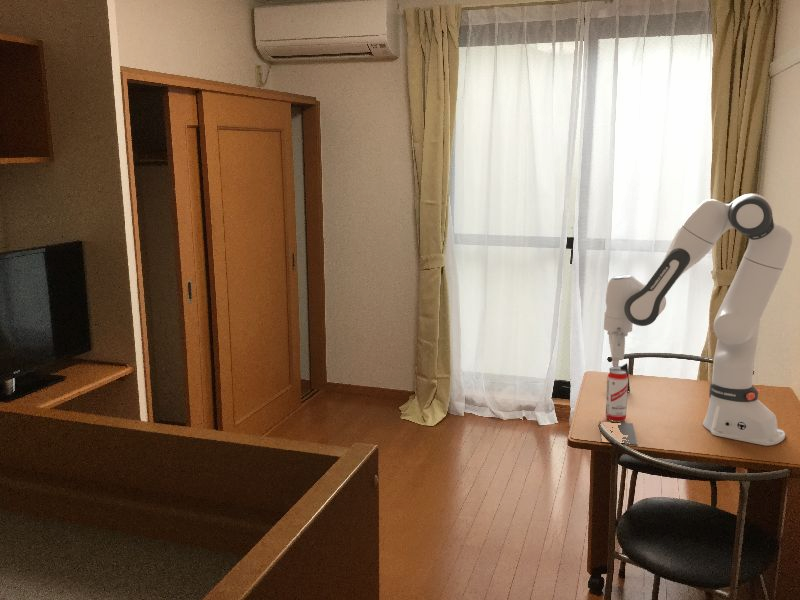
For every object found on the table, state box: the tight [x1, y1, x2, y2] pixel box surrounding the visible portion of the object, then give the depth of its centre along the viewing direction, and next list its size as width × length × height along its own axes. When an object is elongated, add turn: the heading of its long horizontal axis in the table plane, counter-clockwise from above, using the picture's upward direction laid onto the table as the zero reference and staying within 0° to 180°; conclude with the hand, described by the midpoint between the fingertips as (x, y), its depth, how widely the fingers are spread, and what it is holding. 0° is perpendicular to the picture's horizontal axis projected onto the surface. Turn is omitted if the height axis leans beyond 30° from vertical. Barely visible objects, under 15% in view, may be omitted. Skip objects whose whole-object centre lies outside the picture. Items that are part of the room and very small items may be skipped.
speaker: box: [609, 362, 631, 393], centre depth 248 cm, size 8×6×10 cm
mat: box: [610, 422, 638, 446], centre depth 210 cm, size 17×10×1 cm, turn 166°
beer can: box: [605, 369, 629, 422], centre depth 220 cm, size 6×6×16 cm
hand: (615, 365), depth 226 cm, fingers closed
